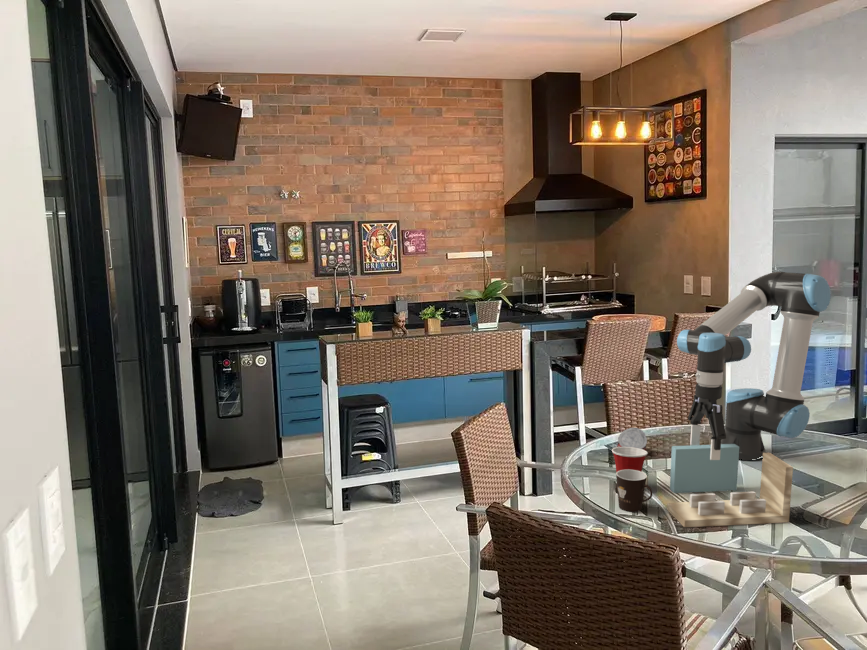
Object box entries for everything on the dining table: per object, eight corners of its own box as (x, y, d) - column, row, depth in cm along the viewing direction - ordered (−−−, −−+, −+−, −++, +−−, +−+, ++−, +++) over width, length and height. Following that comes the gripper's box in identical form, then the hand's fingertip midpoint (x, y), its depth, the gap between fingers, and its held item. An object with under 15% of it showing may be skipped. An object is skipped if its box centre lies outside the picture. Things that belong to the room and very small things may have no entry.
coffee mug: (611, 502, 220) (612, 470, 218) (639, 501, 220) (640, 468, 219) (624, 518, 208) (625, 484, 207) (654, 517, 209) (655, 483, 207)
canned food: (645, 465, 263) (658, 444, 258) (626, 468, 257) (639, 447, 253) (624, 443, 271) (637, 423, 266) (605, 445, 265) (618, 425, 260)
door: (731, 486, 231) (734, 443, 229) (736, 490, 228) (739, 446, 226) (669, 489, 229) (671, 446, 227) (673, 493, 226) (675, 449, 224)
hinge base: (765, 504, 217) (769, 452, 214) (788, 522, 205) (793, 467, 203) (666, 509, 214) (669, 456, 212) (684, 527, 203) (687, 471, 200)
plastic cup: (647, 482, 235) (648, 446, 233) (645, 495, 225) (646, 457, 223) (612, 478, 238) (613, 442, 236) (608, 490, 228) (609, 453, 226)
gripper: (679, 375, 235) (675, 439, 238) (716, 395, 210) (711, 466, 214) (702, 374, 236) (698, 439, 239) (741, 394, 211) (736, 465, 215)
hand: (704, 452), depth 226 cm, fingers open, 13 cm apart
